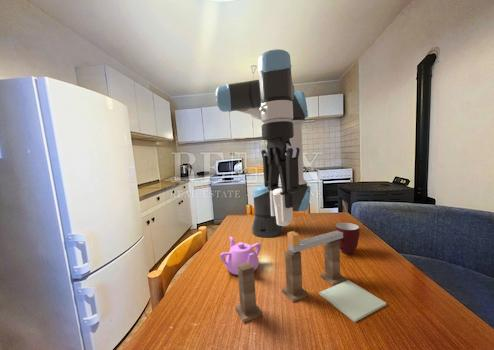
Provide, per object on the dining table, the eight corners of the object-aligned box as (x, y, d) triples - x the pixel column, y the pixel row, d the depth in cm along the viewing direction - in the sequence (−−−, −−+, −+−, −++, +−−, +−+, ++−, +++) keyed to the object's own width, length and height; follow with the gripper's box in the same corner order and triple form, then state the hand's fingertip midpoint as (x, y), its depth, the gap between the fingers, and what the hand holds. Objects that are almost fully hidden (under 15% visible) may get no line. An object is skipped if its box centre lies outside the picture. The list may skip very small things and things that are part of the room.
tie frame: (235, 309, 54) (232, 264, 53) (332, 272, 68) (331, 235, 67) (243, 322, 50) (240, 274, 49) (345, 280, 64) (344, 241, 62)
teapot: (254, 280, 66) (253, 253, 65) (215, 274, 71) (213, 248, 70) (266, 261, 77) (264, 238, 76) (231, 257, 82) (229, 234, 81)
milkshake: (269, 222, 56) (267, 184, 55) (289, 220, 56) (287, 182, 55) (272, 228, 51) (270, 186, 51) (294, 226, 52) (292, 184, 51)
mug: (349, 262, 73) (349, 234, 72) (327, 254, 79) (327, 228, 78) (363, 251, 80) (363, 225, 79) (342, 245, 86) (341, 221, 85)
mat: (319, 294, 58) (319, 292, 58) (348, 281, 63) (348, 279, 63) (354, 322, 48) (354, 319, 48) (386, 305, 53) (386, 302, 53)
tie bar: (288, 249, 59) (287, 232, 58) (336, 235, 66) (336, 220, 65) (293, 253, 56) (292, 235, 56) (343, 237, 64) (342, 222, 63)
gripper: (247, 127, 58) (253, 212, 60) (284, 115, 42) (289, 231, 44) (272, 127, 61) (276, 207, 63) (314, 116, 45) (317, 224, 47)
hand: (281, 217), depth 54 cm, fingers closed on milkshake, 4 cm apart
